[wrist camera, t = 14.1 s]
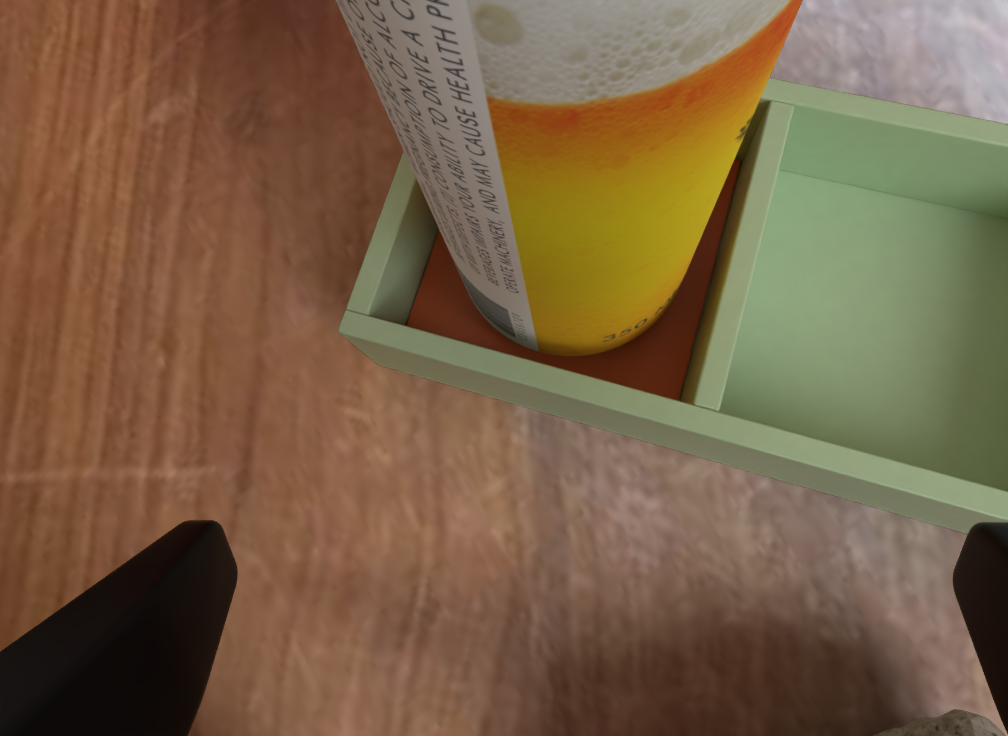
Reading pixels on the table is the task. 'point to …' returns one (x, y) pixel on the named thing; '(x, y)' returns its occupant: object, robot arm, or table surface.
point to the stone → (947, 726)
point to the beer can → (570, 144)
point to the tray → (775, 313)
